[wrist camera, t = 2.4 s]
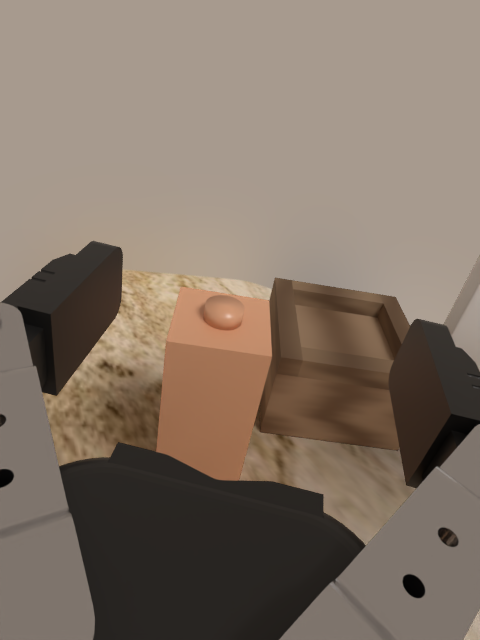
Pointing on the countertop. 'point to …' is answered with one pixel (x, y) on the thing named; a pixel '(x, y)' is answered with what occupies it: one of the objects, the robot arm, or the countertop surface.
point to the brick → (213, 380)
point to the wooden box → (332, 364)
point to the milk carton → (467, 316)
